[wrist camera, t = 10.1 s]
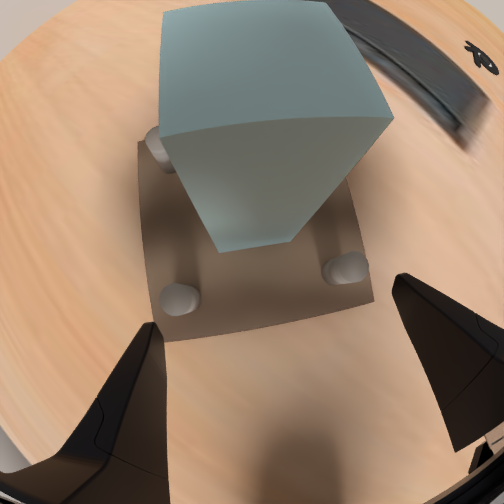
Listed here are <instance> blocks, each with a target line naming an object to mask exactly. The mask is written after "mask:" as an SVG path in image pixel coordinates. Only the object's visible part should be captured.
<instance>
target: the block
mask: <svg viewBox="0 0 504 504" xmlns="http://www.w3.org/2000/svg"><path fill="white" fill-rule="evenodd" d="M393 119H394V116H393V114H392V112H391V110H390V108H389V106H388V103H387V101H386V99H385V97H384V95H383V93H382V91H381V89H380V87H379V86H378V84H377V82H376V80H375V78H374V76H373V74H372V73H371V71H370V69H369V67H368V65H367V64H366V62H365V60H364V59H363V57H362V55H361V54H360V52H359V50H358V49H357V47H356V45H355V44H354V42H353V41H352V39H351V38H350V36H349V35H348V33H347V32H346V30H345V29H344V27H343V26H342V24H341V23H340V21H339V20H338V19H337V17H336V16H335V14H334V13H333V12H332V10H331V9H330V8H329V6H328V5H327V4H326V3H323V2H312V1H297V0H249V1H233V2H222V3H213V4H206V5H199V6H192V7H187V8H181V9H176V10H171V11H167V12H163V22H162V34H161V49H160V69H159V138H160V141H161V143H162V145H163V147H164V149H165V151H166V152H167V154H168V156H169V158H170V160H171V162H172V164H173V166H174V168H175V170H176V172H177V174H178V176H179V178H180V180H181V182H182V184H183V186H184V188H185V190H186V192H187V194H188V195H189V197H190V199H191V201H192V203H193V205H194V207H195V209H196V211H197V213H198V215H199V216H200V218H201V220H202V222H203V224H204V226H205V228H206V230H207V231H208V233H209V235H210V237H211V239H212V241H213V243H214V244H215V246H216V248H217V250H218V252H219V253H223V252H229V251H235V250H241V249H247V248H253V247H260V246H266V245H272V244H278V243H284V242H290V241H291V240H292V239H293V238H294V237H295V235H296V234H297V233H298V232H299V231H300V230H301V229H302V227H303V226H304V225H305V224H306V223H307V222H308V220H309V219H310V218H311V217H312V216H313V215H314V213H315V212H316V211H317V210H318V209H319V208H320V207H321V205H322V204H323V203H324V202H325V201H326V199H327V198H328V197H329V196H330V195H331V194H332V192H333V191H334V190H335V189H336V188H337V187H338V185H339V184H340V183H341V182H342V181H343V179H344V178H345V177H346V176H347V175H348V174H349V172H350V171H351V170H352V169H353V168H354V166H355V165H356V164H357V163H358V162H359V160H360V159H361V158H362V157H363V156H364V154H365V153H366V152H367V151H368V150H369V148H370V147H371V146H372V145H373V143H374V142H375V141H376V140H377V139H378V137H379V136H380V135H381V134H382V133H383V131H384V130H385V129H386V128H387V126H388V125H389V124H390V123H391V121H392V120H393Z"/></svg>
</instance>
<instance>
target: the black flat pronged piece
mask: <svg viewBox="0 0 504 504" xmlns="http://www.w3.org/2000/svg"><path fill="white" fill-rule="evenodd" d="M466 43H467V44H468V45H469V46H471V47H468V46H465V49H466V50H467V51H470V52H473V55H474V61H475V64H476V65H477V66H478V67H479V68H480V67H481V64H482V65H483V66H484V67H485V68H486V69H487V70H489V71H490V72H491V73H493V74H495V75H498V74H499V70H498V68H497V67H496V65H495V64H494V62H493V61H492V60H491V59H490V58H489V57H488V56H487V55H486V54H485V53H484V52H483V51H481V50H480V49H479V48H477V47H476V46H474V45H473V44H472V43H470V42H469V41H466Z"/></svg>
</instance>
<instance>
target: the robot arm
mask: <svg viewBox="0 0 504 504" xmlns="http://www.w3.org/2000/svg"><path fill="white" fill-rule="evenodd" d="M392 296H393V299H394V301H395V304H396V306H397V309H398V311H399V314H400V317H401V319H402V322H403V325H404V327H405V329H406V331H407V334H408V336H409V338H410V340H411V342H412V344H413V346H414V348H415V350H416V353H417V355H418V357H419V359H420V361H421V364H422V366H423V368H424V371H425V373H426V375H427V378H428V380H429V382H430V385H431V387H432V390H433V392H434V395H435V397H436V400H437V402H438V405H439V408H440V410H441V413H442V416H443V419H444V422H445V424H446V427H447V430H448V433H449V436H450V439H451V442H452V445H453V449H454V451H455V453H456V452H458V451H459V450H461V449H463V448H465V447H466V446H468V445H470V444H471V443H473V442H475V441H476V440H478V439H479V438H481V437H482V436H484V437H485V439H486V441H484V442H483V443H482V444H481V445H479V446H478V447H477V448H476V450H475V453H474V456H473V459H472V462H471V465H470V468H469V471H468V473H469V475H468V476H466V477H465V478H464V479H462V480H461V481H459V482H458V483H456V484H455V485H453V486H452V487H450V488H449V489H447V490H446V491H444V492H442V493H441V494H439V495H437V496H436V497H434V498H432V499H431V500H429V501H427V502H425V503H424V504H504V329H502V328H500V327H499V326H497V325H495V324H493V323H491V322H490V321H488V320H486V319H485V318H483V317H481V316H480V315H478V314H477V313H474V312H473V311H472V310H470V309H468V308H467V307H465V306H463V305H462V304H460V303H458V302H457V301H455V300H453V299H452V298H450V297H448V296H447V295H445V294H443V293H441V292H440V291H438V290H436V289H434V288H433V287H431V286H429V285H427V284H426V283H424V282H422V281H420V280H419V279H417V278H415V277H413V276H411V275H410V274H408V273H401V274H398V275H397V276H396V277H395V281H394V284H393V288H392ZM0 491H2V492H3V493H5V494H7V495H9V496H11V497H12V498H14V499H16V500H19V501H20V502H21V503H18V502H15V501H12V500H10V499H7V498H5V497H2V496H0V504H170V493H169V481H168V461H167V373H166V361H165V348H164V338H163V335H162V333H161V332H160V330H159V328H158V326H157V324H156V323H155V322H146V323H144V324H143V325H142V326H141V328H140V329H139V331H138V332H137V334H136V335H135V337H134V338H133V340H132V341H131V343H130V344H129V346H128V347H127V349H126V351H125V352H124V354H123V355H122V357H121V358H120V360H119V361H118V363H117V365H116V366H115V368H114V369H113V371H112V372H111V374H110V376H109V377H108V379H107V380H106V382H105V384H104V385H103V387H102V388H101V390H100V392H99V393H98V395H97V397H96V398H95V400H94V401H93V403H92V405H91V406H90V408H89V410H88V411H87V413H86V414H85V416H84V417H83V419H82V420H81V421H80V423H79V424H78V426H77V427H76V428H75V430H74V431H73V433H72V434H71V435H70V437H69V438H68V439H67V441H66V442H65V444H64V445H63V446H62V448H61V449H60V450H59V451H58V452H57V453H56V454H55V455H53V456H52V457H50V458H48V459H46V460H44V461H41V462H39V463H36V464H34V465H32V466H29V467H27V468H24V469H22V470H19V471H16V472H13V473H3V472H1V471H0Z"/></svg>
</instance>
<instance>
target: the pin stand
mask: <svg viewBox="0 0 504 504" xmlns="http://www.w3.org/2000/svg"><path fill="white" fill-rule="evenodd" d="M138 182H139V202H140V217H141V229H142V240H143V249H144V258H145V267H146V274H147V282H148V289H149V295H150V302H151V308H152V314H153V319H154V322H155V323H156V324H157V326H158V328H159V330H160V332H161V333H162V335H163V338H164V342H173V341H181V340H188V339H196V338H203V337H210V336H216V335H223V334H229V333H235V332H241V331H246V330H252V329H258V328H263V327H268V326H273V325H278V324H283V323H288V322H293V321H298V320H302V319H307V318H311V317H316V316H320V315H324V314H329V313H333V312H337V311H341V310H345V309H349V308H353V307H357V306H360V305H364V304H368V303H372V302H374V296H373V291H372V285H371V280H370V274H369V265H368V261H367V259H366V255H365V250H364V246H363V241H362V237H361V233H360V228H359V224H358V220H357V216H356V213H355V209H354V205H353V201H352V198H351V194H350V191H349V187H348V184H347V180H346V177H345V178H344V179H343V181H342V182H341V183H340V184H339V185H338V187H337V188H336V189H335V190H334V191H333V192H332V194H331V195H330V196H329V197H328V198H327V199H326V201H325V202H324V203H323V204H322V205H321V207H320V208H319V209H318V210H317V211H316V212H315V213H314V215H313V216H312V217H311V218H310V219H309V220H308V222H307V223H306V224H305V225H304V226H303V227H302V229H301V230H300V231H299V232H298V233H297V234H296V235H295V237H294V238H293V239H292V240H291V241H290V242H284V243H278V244H272V245H266V246H260V247H253V248H247V249H241V250H235V251H229V252H223V253H219V252H218V250H217V248H216V246H215V244H214V243H213V241H212V239H211V237H210V235H209V233H208V231H207V230H206V228H205V226H204V224H203V222H202V220H201V218H200V216H199V215H198V213H197V211H196V209H195V207H194V205H193V203H192V201H191V199H190V197H189V195H188V194H187V192H186V190H185V188H184V186H183V184H182V182H181V180H180V178H179V176H178V174H177V172H176V170H175V168H174V166H173V164H172V162H171V160H170V158H169V156H168V154H167V152H166V151H165V149H164V147H163V145H162V143H161V141H160V138H159V126H156V127H154V128H152V129H151V130H150V131H149V132H148V133H147V135H146V138H145V140H143V141H139V142H138Z"/></svg>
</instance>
